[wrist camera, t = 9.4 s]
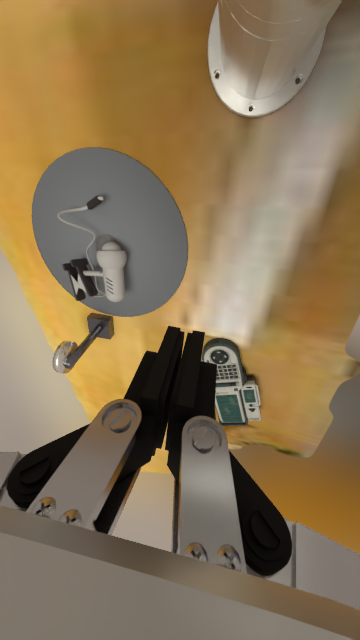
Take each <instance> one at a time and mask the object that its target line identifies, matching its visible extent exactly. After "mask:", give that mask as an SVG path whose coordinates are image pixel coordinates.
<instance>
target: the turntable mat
mask: <svg viewBox="0 0 360 640" xmlns="http://www.w3.org/2000/svg"><path fill="white" fill-rule="evenodd" d="M95 196H100V197H103V198H104V200H101V201H102V203H100V204H99V205H97V206H96V207H94V208H93V209H91V210H89V209H87V210H83V211H75V212H67V213H63V214H61V215H60V217H61V218H62V219H63V220H65V221H67V222H70V223H73V224H76V225H79V226H82V227H84V228H87V229H89V230H91V231H93V232H94V233H95V234H96V239H95V241H94V243H93V244H92V245H91V247H90V248H89V250H88V255H89V258H90V260H91V262H92V264H93V267H94V270H95V271H102V272H103V268H102V267H101V266H100V265H99V263H98V261H97V251H99V250H102V247H103V245H104V244H105V243H107V242H114V243H116V244H118V245H119V247H120V248H121V250H125V252H126V256H127V260H126V264H125V266H124V267H123V270H124V284H125V297H124V299H123V300H121V301H119V302H112V301H110V300H109V299H107V297H106V295H105V296H103V297H95V296H92V297H90V296H88V294H87V293H86V292H85V295H86V298H85V299H83V300H81V301H80V302H82V303H83V304H85V305H87V306H88V307H90V308H92V309H95V310H97V311H99V312H102V313H105V314H109V315H113V316H121V317H132V316H139V315H143V314H147V313H149V312H152V311H154V310H156V309H158V308H159V307H161V306H162V305H163V304H165V303H166V302H167V301H168V300H169V299H170V298H171V297H172V296H173V295H174V293H175V292H176V290H177V289H178V287H179V285H180V283H181V281H182V279H183V276H184V273H185V270H186V265H187V259H188V242H187V234H186V229H185V225H184V222H183V219H182V216H181V213H180V211H179V209H178V207H177V205H176V202H175V200H174V199H173V197H172V196H171V194H170V193H169V191H168V189H167V188H166V187H165V186H164V185H163V183H162V182H161V181H160V180H159V179H158V178H157V177H156V176H155V175H154V174H153V173H152V172H151V171H150V170H149V169H148V168H146V167H145V166H144V165H142V164H141V163H139V162H138V161H136V160H135V159H133V158H131V157H129V156H127V155H125V154H122V153H119V152H117V151H114V150H109V149H104V148H83V149H77V150H74V151H71V152H69V153H66V154H64V155H63V156H61V157H59V158H58V159H56V160H55V161H54V162H53V163H52V164H51V165H50V166H49V167H48V168H47V169H46V171H45V172H44V173H43V175H42V177H41V179H40V180H39V182H38V184H37V187H36V190H35V193H34V198H33V204H32V223H33V230H34V235H35V239H36V243H37V246H38V249H39V251H40V253H41V256H42V258H43V260H44V262H45V264H46V265H47V267H48V269H49V270H50V272H51V273H52V275H53V276H54V277H55V278H56V280H57V281H58V282H59V283H60V284H61V285H62V287H63V288H64V289H65V290H66V291H67V292H69V293H70V294H71V295H72V296H73V297H75V296H74V292H73V289H72V285H71V282H70V278H69V275H68V271H64V269H63V266H62V264H65V263H70V260H73V259H83V258H86V259H87V261H88V265H86V266H87V268H88V271H93V270H92V267H91V264H90V262H89V260H88V258H87V254H86V250H87V247H88V246H89V245H90V243H91V242H92V241H93V239H94V235H93V234H92V233H91V232H89V231H86V230H84V229H81V228H78V227H75V226H72V225H69V224H67V223H65V222H63V221H61V220H60V219H59V218H58V213H59V212H61V211H64V210H69V209H75V208H81V207H85V206H87V202H89V201H90V200H91V199H93V198H94V197H95ZM91 277H92V280H93V282H94V284H95V287H96V282H95V277H94V276H91ZM96 278H97V284H98V288H99V289H100V290H101V291H103V292H105V284H104V278H103V277H102V276H96ZM96 289H97V287H96ZM97 291H98V294H97V295H104V293H102V292H100V291H99V290H98V289H97ZM105 293H106V292H105Z"/></svg>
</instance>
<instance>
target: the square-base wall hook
mask: <svg viewBox="0 0 360 640" xmlns="http://www.w3.org/2000/svg"><path fill="white" fill-rule="evenodd" d="M87 321H88V327H89V333H90V334H89V335H88V336H87V337H86V338H85V340H84V341H83V342H82V343H81V344H80V345H79V346H77V344H76V343H75V342H72V341H64V342H62V343H61V344H60V345H59V346H58V347H57V349H56V351H55V353H54V357H53V368H54V370H55V371H56V372H60V373H68V372H69V371H71V369H72V368H73V367H74V365H75V363H76V362H77V361H78V359H79V358H80V357H81V356H82V355H83V353H84V352H85V351H86V350H87V348H88V347H89V346H90V345H91V344H92V342H93V341H94V340H95V339H96V337H100V338H106V339H111V338H112V336H113V335H114V329H113V318H112V316H106V315H100V314H95V313H91V314H90V315H89V316H88V317H87Z"/></svg>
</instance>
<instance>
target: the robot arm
mask: <svg viewBox="0 0 360 640" xmlns="http://www.w3.org/2000/svg"><path fill="white" fill-rule="evenodd" d="M342 1H343V0H218V2H217V5H216V7H215V11H214V14H213V17H212V21H211V25H210V31H209V37H208V52H207V56H208V67H209V73H210V78H211V81H212V84H213V87H214V90H215V92H216V94H217V96H218V98H219V99H220V101H221V102H222V103H223V104H224V106H225V107H226V108H228V109H229V110H230V111H231V112H233V113H234V114H237V115H239V116H241V117H247V118H258V117H263V116H266V115H269V114H271V113H273V112H275V111H277V110H278V109H280V108H282V107H283V106H284V105H285V104H286V103H288V102H289V101H290V100H291V99H292V98H293V97H294V96H295V95H296V94H297V92H298V91H299V90H300V89H301V88H302V86H303V85H304V84H305V82H306V81H307V79H308V77H309V75H310V74H311V72H312V70H313V69H314V66H315V64H316V62H317V59H318V57H319V55H320V52H321V49H322V45H323V42H324V38H325V33H326V27H327V24H328V22H329V21H330V19H331V18H332V16H333V14H334V13H335V11H336V10H337V8H338V7H339V5H340V4H341V2H342ZM216 74H219V78H218V79H216V78H215V76H216ZM296 79H299V84H296V83H295V81H296ZM250 107H252V108H253V111H252V112H249V108H250ZM204 335H205V332H199V331H194V330H193V333H188V334H187V338H186V342H185V346H184V350H183V354H182V348H183V340H184V332H181V331H180V328H177V327H171V326H168V329H167V331H166V334H165V336H164V339H163V341H162V344H161V346H160V349H159V351H158V353H156V352H151V351H146V353H145V354H144V356H143V359H142V361H141V363H140V365H139V367H138V369H137V371H136V374H135V376H134V378H133V380H132V382H131V384H130V386H129V388H128V391H127V393H126V395H125V397H124V399H117V400H114V401H111V402H109V403H108V404H106V405H105V406H104V407H103V408H102V409H101V410H100V412H99V413H98V414H97V416H96V417H95V418H94V420H93V421H92V422H91V423H90V424H88V425H86V426H84V427H82V428H80V429H78V430H75V431H73V432H71V433H69V434H67V435H65V436H63V437H61V438H59V439H57V440H55V441H52V442H50V443H48V444H46V445H44V446H42V447H40V448H38V449H36V450H34V451H32V452H30V453H29V454H20V453H19V452H0V640H360V555H359V554H358V553H356V552H353V551H352V550H350V549H348V548H346V547H344V546H342V545H340V544H338V543H337V542H335V541H333V540H331V539H329V538H327V537H325V536H323V535H321V534H319V533H317V532H316V531H314V530H311V529H310V528H308V527H306V526H304V525H302V524H300V523H298V522H297V521H296V522H295V523H292V522H290V521H289V520H287V519H285V518H283V517H282V515H281V514H280V512H279V511H278V510H277V508H276V507H275V506H274V505H273V503H272V502H271V501H270V500H269V499H268V497H267V496H266V495H265V494H264V492H263V491H262V490H261V489H260V488H259V486H258V485H257V484H256V483H255V482H254V480H253V479H252V478H251V476H250V475H249V474H248V473H247V472H246V470H245V469H244V468H243V467H242V465H241V464H240V463H239V462H238V461H237V459H236V458H235V457H234V456H233V454H232V453H231V452H230V451H229V449H228V442H227V437H226V433H225V431H224V429H223V427H222V426H221V425H220V424H219V423H218V422H217V421H216V420H214V410H215V393H216V375H217V364H213V363H208V362H203V361H201V355H202V348H203V341H204ZM181 356H182V358H181ZM167 423H168V428H167V437H166V447H165V450H168V451H169V454H168V462H167V466H168V467H169V469H170V471H171V472H172V474H173V476H174V478H175V479H174V499H173V521H172V545H171V552H168V551H165V550H161V549H158V548H154V547H150V546H147V545H143V544H140V543H136V542H133V541H129V540H125V539H122V538H118V537H115V536H111V535H112V533H113V530H114V528H115V526H116V524H117V522H118V519H119V517H120V515H121V513H122V510H123V508H124V506H125V504H126V501H127V499H128V497H129V495H130V492H131V490H132V488H133V486H134V483H135V481H136V479H137V477H138V475H139V472H140V469H141V467H142V466H143V465H145V464H146V463H148V462H149V461H150V460H151V457H152V456H154V455H155V451H156V448H160V449H161V447H162V444H163V440H164V436H165V432H166V427H167Z"/></svg>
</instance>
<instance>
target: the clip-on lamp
mask: <svg viewBox="0 0 360 640" xmlns="http://www.w3.org/2000/svg"><path fill="white" fill-rule="evenodd" d="M101 200H104V198H103V197H100V196H95V197H94V198H93V199H91V200H90V201H89V202H87V206H85V207H81V208H75V209H69V210H64V211H61V212H59V213H58V218H59V219H60V220H61V221H63V222H65V223H67V224H69V225H72V226H75V227H78V228H81V229H84V230H86V231H89V232H91V233H92V234H93V235H94V239H93V241H92V242H91V243H90V245H89V246H88V247H87V250H86V254H87V258H88V260H89V262H90V264H91V267H92V270H93V271H88V268H87V266H86V265H88V261H87V259H86V258H83V259H73V260H70V263H65V264H62V266H63V269H64V271H68V275H69V278H70V282H71V285H72V289H73V292H74V296H75V299H76V300H77V301H81V300H83V299H85V298H86V295H85V292H86V293H87V294H88V296H90V297H92V296H95V297H103V296H105V295H106V297H107V299H109V300H110V301H112V302H119V301H121V300H123V299H124V297H125V284H124V270H123V267H124V266H125V264H126V260H127V256H126V252H125V250H121V248H120V247H119V245H118V244H116V243H114V242H107V243H105V244H104V245H103V247H102V250H99V251H97V261H98V263H99V265H100V266H101V267H102V268H103V272H102V271H95V270H94V267H93V264H92V262H91V260H90V258H89V255H88V250H89V248H90V247H91V245H92V244H93V243H94V241H95V239H96V234H95V233H94V232H93V231H91V230H89V229H87V228H84V227H82V226H79V225H76V224H73V223H70V222H67V221H65V220H63V219H62V218H61V217H60V215H61V214H63V213H67V212H75V211H83V210H87V209H89V210H91V209H93V208H94V207H96V206H97V205H99V204H100V203H102V201H101ZM91 276H94V277H95V282H96V287H97V289H98V290H99V291H100V292H102V293H104V295H97V294H98V291H97V289H96V287H95V284H94V282H93V280H92V277H91ZM96 276H102V277H103V278H104V284H105V292H106V293H105V292H103V291H101V290H100V289H99V288H98V284H97V278H96Z"/></svg>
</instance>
